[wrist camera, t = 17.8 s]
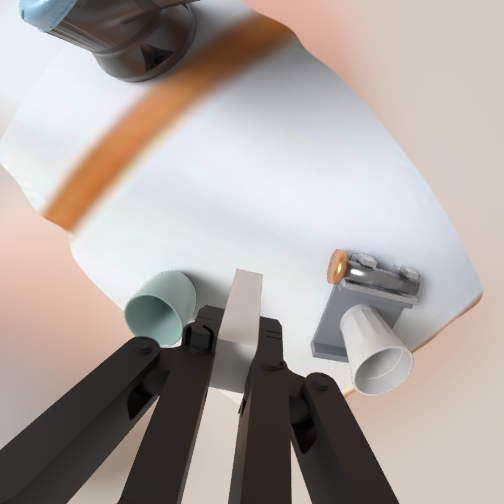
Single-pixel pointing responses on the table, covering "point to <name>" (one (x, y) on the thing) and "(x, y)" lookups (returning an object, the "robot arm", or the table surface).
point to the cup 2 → (374, 351)
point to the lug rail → (377, 290)
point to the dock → (341, 300)
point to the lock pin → (368, 275)
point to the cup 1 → (162, 307)
